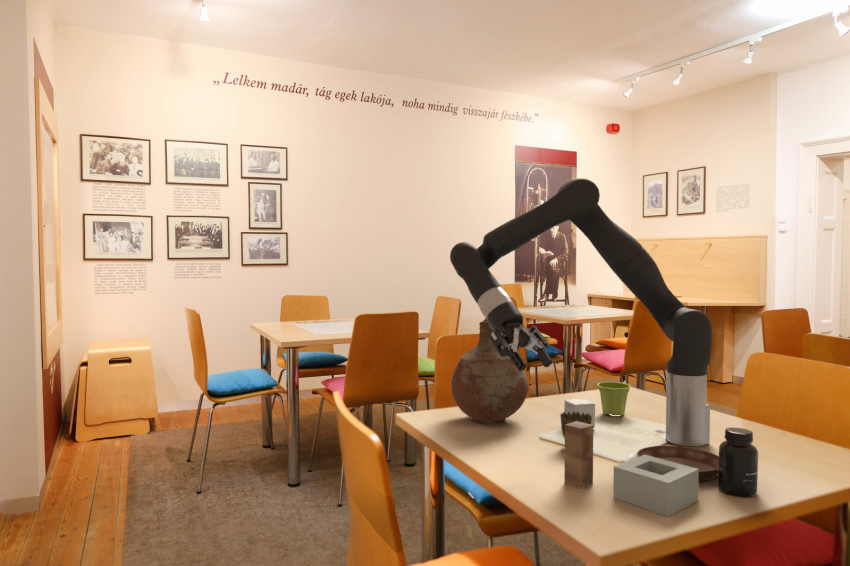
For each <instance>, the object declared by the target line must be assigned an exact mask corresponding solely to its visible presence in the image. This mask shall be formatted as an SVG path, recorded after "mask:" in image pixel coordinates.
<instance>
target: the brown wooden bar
mask: <svg viewBox="0 0 850 566" xmlns="http://www.w3.org/2000/svg"><path fill="white" fill-rule="evenodd" d="M564 484H566V485H568V486H573V487H574V486H575V488H578V489H580V488H582V489H583V487H584V488H586V486H587V487H589V486H591V484H592V485H593V484H594V430H593V425H590V424H586V423H582V422H578V421H576V422H572V423H569V424H565V438H564ZM588 485H589V486H588Z"/></svg>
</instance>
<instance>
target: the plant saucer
mask: <svg viewBox="0 0 850 566" xmlns="http://www.w3.org/2000/svg"><path fill="white" fill-rule="evenodd" d="M642 455H648V456H652V457H656V458H660V459H663V460H667V461H671V462H674V463H678V464H682V465H685V466H689V467H693V468H697V469H699V480H698V482H702V481H709V480H712V479H713V478H716V476H717V477H718V469H719V455H717V454H715V453H713V452H710V451H706V450H702V449H699V448H693V447H689V446H681V445H653V446H647V447H643V448H641V449H638V450H637V452H636V456H637V457H640V456H642Z"/></svg>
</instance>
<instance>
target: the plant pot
mask: <svg viewBox="0 0 850 566" xmlns="http://www.w3.org/2000/svg"><path fill="white" fill-rule="evenodd" d="M596 385H597V387H598V391H599V392H600V393H599V395H600V403H601V409H602V414H603V415H605V414H612V415H622V416H624V415H625V413H626V405H627V401H628V400H627V399H628V395H629V392H630V389H631V388H632V387H631V385H630V384H628V383H625V382H619V381H617V382H616V381H602V382H598V383H597V384H596Z"/></svg>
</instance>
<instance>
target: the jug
mask: <svg viewBox="0 0 850 566" xmlns="http://www.w3.org/2000/svg"><path fill="white" fill-rule="evenodd" d="M478 325H479V328H478V329H479V333H478V334H479V335H478V336H479V337H478V338H479V339H478V343H477V345H475V347H473V348H470V349H469V351H467V352H466V353H464V354H462V355H461V357H460V359H459V361H458V362H457V364H456V366H455V368H454V371H453V374H452V378H451V392H452V396H453V399H454V401H455V404H456V406H457V407H458V408H459V409H460V411H461V412H462V413H463V414H465V415H466V416H468V417H469V418H471V421H472V422H473V423H474V424H477V425H483V426H497V425H498V426H499V425H502V424H505V422H506V419H508V418H510V417H511V416H513V415H514V414H515V413H516V412H518V411H519V409H521V407H522V406H523V404H524V403H525V401H526V399H527V395H528V393H529V381H528V378H527V374H526V370H525V369H524V370H523V371H519V370H518V369H517V368H516V366H515V365H514V363H513V362H512V360H511V359H510V358H508V357H507V356H504V357H502V356H500V354H499V353H498V351H497V349H496V347H495V346H494V344H493V342H492V340H491V339H490V335H491V334H492V333H493V330H492V328H491V326H490V325H489V323H488V322H487V320H486V319H485V318H484V319H483V320H482V321H480V322H479V323H478ZM501 348H502V349H503V348H504V347H503V346H501ZM519 349H520V347H519V348H517V352H519Z"/></svg>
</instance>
